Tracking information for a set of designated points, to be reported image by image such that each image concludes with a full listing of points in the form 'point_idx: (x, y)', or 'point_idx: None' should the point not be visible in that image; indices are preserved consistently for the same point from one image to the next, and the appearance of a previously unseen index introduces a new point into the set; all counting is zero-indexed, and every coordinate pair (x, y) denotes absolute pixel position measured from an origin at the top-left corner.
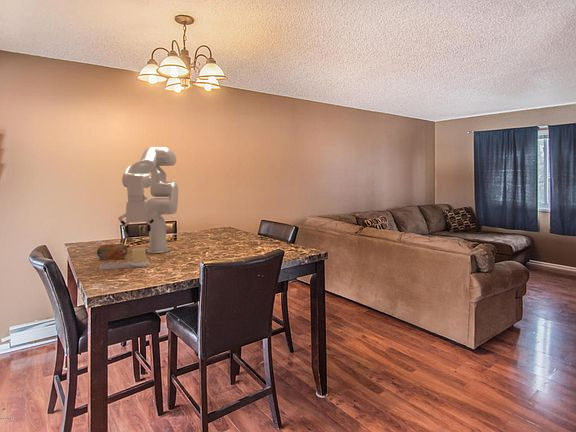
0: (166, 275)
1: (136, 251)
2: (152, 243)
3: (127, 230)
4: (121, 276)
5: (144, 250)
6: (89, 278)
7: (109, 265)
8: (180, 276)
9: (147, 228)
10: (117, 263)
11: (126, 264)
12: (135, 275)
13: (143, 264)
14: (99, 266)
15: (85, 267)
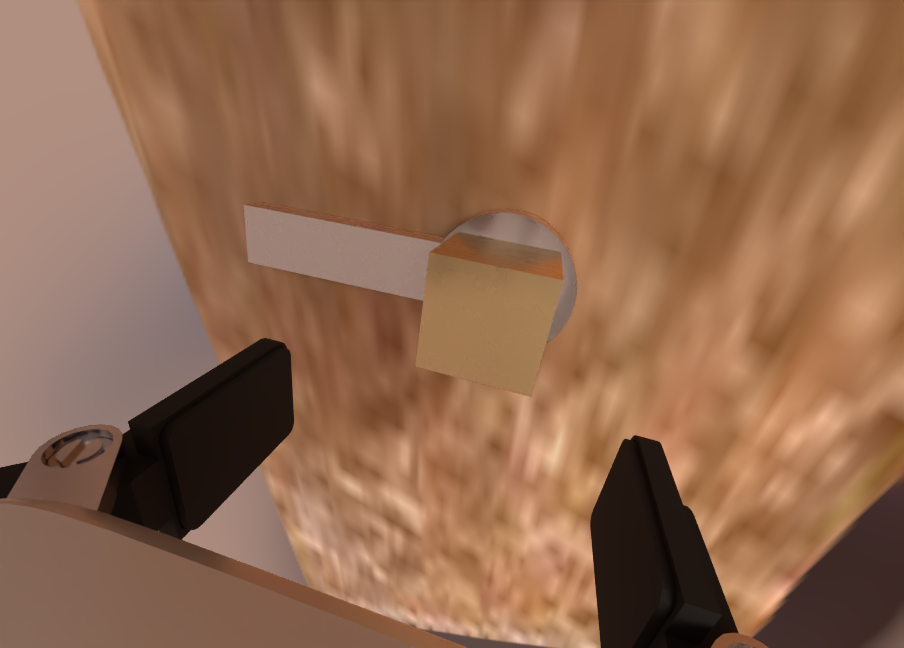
0: None
1: (456, 372)
2: None
3: (244, 473)
4: (392, 457)
5: (528, 392)
6: None
7: (305, 273)
8: None
9: (600, 605)
10: (348, 255)
11: (408, 295)
12: (456, 479)
13: None
14: (251, 260)
15: (168, 140)
